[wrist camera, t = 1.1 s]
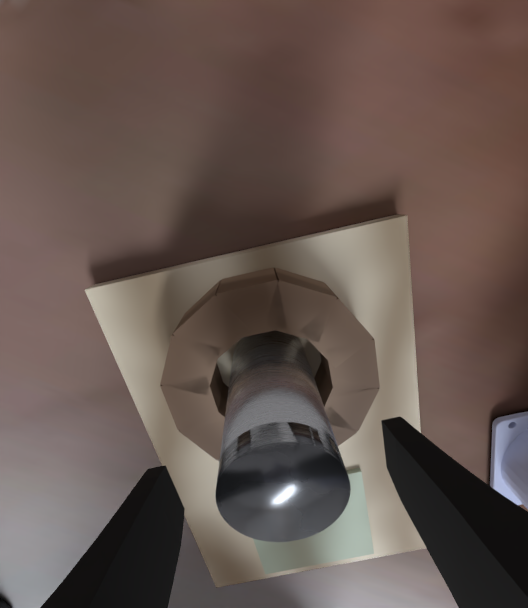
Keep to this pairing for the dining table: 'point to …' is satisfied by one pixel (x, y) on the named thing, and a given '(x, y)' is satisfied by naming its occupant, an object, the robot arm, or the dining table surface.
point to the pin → (278, 445)
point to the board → (323, 362)
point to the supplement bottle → (3, 604)
